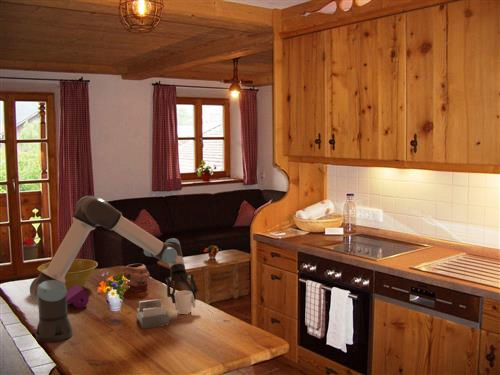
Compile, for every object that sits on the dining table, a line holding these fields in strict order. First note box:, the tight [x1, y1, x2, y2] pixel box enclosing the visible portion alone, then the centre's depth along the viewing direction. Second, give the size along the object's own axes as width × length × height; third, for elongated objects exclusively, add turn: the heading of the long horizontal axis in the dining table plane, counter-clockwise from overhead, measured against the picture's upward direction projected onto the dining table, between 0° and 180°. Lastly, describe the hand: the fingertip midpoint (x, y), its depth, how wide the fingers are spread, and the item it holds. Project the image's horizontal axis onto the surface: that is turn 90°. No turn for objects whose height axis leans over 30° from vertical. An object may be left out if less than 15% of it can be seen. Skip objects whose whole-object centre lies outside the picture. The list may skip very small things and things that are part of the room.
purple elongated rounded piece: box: [66, 285, 90, 309], centre depth 271 cm, size 9×8×18 cm
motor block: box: [136, 298, 170, 330], centre depth 249 cm, size 14×12×8 cm
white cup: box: [175, 289, 193, 315], centre depth 261 cm, size 8×8×10 cm
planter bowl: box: [37, 258, 99, 291], centre depth 302 cm, size 32×32×13 cm
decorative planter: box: [123, 263, 151, 292], centre depth 300 cm, size 20×12×14 cm, turn 54°
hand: (185, 307), depth 258 cm, fingers closed on white cup, 8 cm apart
